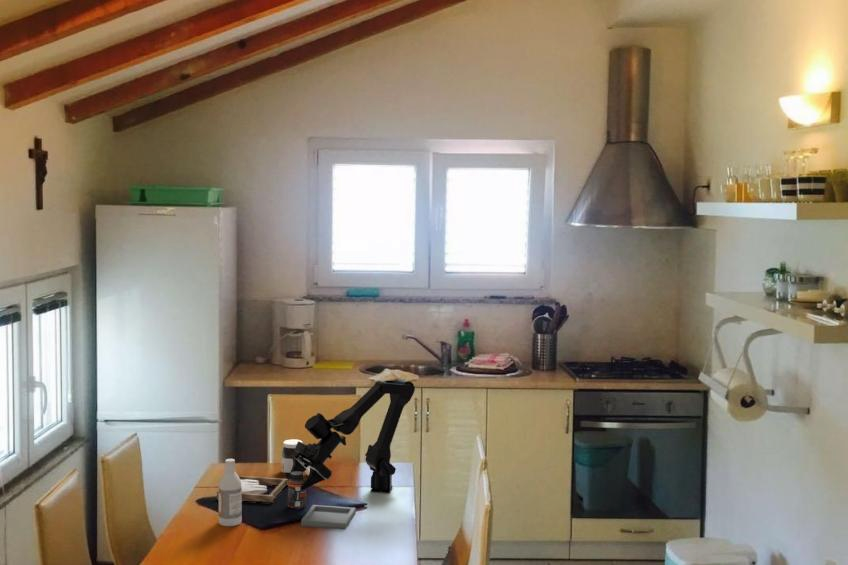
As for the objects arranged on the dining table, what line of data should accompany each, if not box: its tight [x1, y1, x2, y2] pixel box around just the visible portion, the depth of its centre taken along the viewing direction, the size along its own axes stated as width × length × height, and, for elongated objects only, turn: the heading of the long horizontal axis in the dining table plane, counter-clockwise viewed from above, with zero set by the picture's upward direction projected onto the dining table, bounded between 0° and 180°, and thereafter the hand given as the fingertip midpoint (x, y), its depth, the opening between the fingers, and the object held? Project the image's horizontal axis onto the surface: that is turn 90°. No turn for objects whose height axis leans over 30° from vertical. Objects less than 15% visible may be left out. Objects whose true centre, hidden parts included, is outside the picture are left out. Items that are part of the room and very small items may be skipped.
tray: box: [300, 504, 357, 530], centre depth 290 cm, size 14×14×2 cm
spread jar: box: [281, 438, 314, 477], centre depth 334 cm, size 12×11×12 cm
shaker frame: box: [216, 475, 288, 503], centre depth 313 cm, size 19×18×2 cm
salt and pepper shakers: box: [241, 479, 268, 495], centre depth 312 cm, size 12×4×11 cm
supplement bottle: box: [287, 471, 307, 509], centre depth 300 cm, size 6×6×11 cm
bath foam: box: [218, 458, 243, 527], centre depth 284 cm, size 7×7×20 cm
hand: (294, 485), depth 300 cm, fingers open, 9 cm apart
